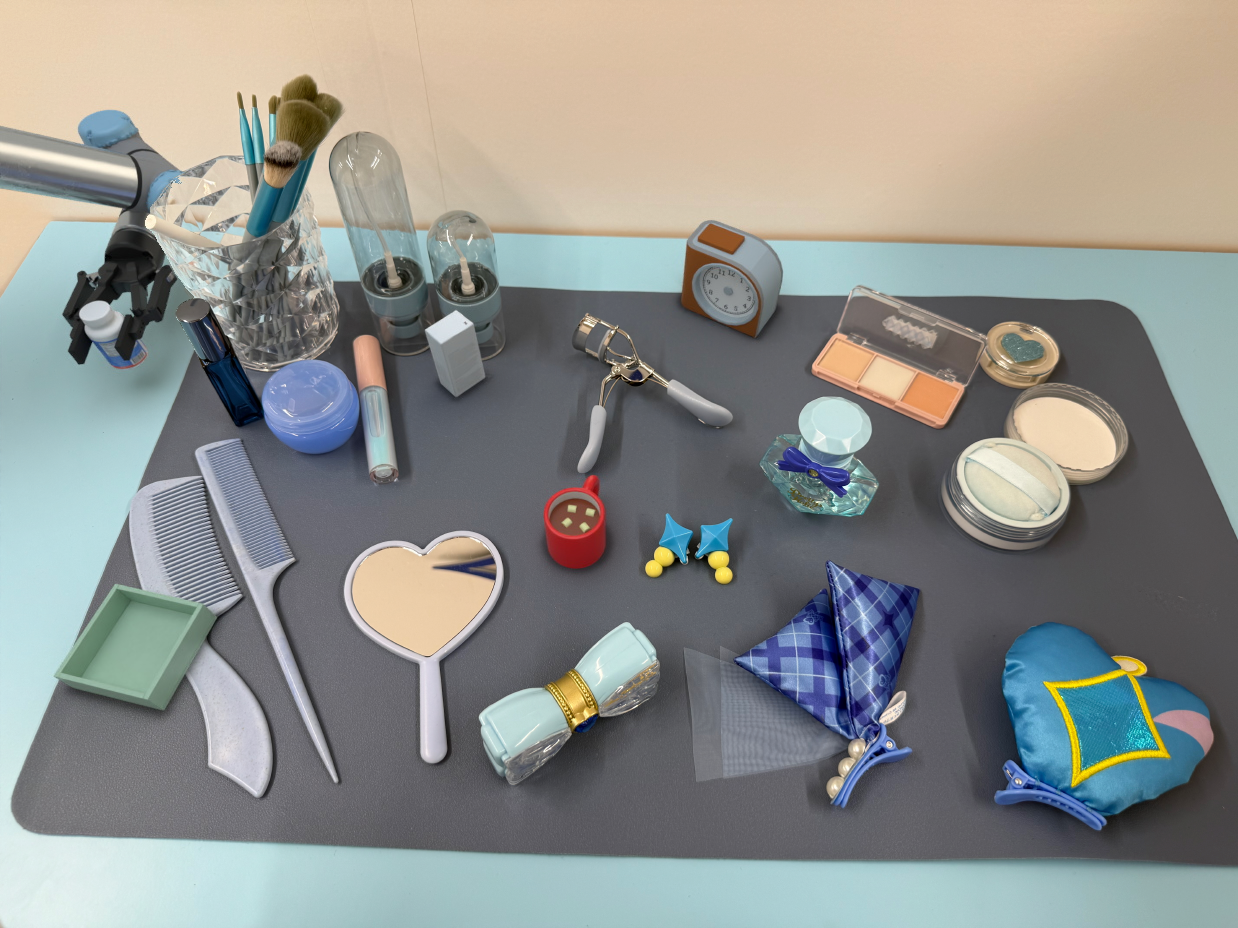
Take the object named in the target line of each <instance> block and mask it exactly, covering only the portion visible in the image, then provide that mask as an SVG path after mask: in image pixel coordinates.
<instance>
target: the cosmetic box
mask: <svg viewBox="0 0 1238 928" xmlns="http://www.w3.org/2000/svg"><path fill="white" fill-rule="evenodd" d="M475 328H476V327H475V324H474V322H472V321H471V320H470V319H468V318H467V317H466V316H465V315H463V314H462V313H461V312H459V311H458V310H457V309H455V310H453V311H452V312H450V313H449V314H448V315H446V316H444V317H443V318H442V319H440V320H438V321H436V322H435V323H433V324H432V325H430V326H428V327H427V328H426V329H424V332H425V333H424V334H425V337H426V340H427V342H428V347H429V350H430V351H431V356H432V359H433V363H434V366H435V369H436V372H437V373H436V374H437V376H438V379H439V382H440V385H442V386H443V387H444V388H445V389H446V390H447V391H448V392H449V393H451V395H453V396H454V397H455V398H458V397H459V396H461V395H462V394H463V393H465V392H467V391H468V390H469V389H471V388H472V387H474V386H475V385H477V384H478V383H480V382H481V381H483V380H484V379H485V378H486V373H485V368H484V364H483V359H482V355H481V350H480V346H479V343H478V338H477V333H476V329H475Z"/></svg>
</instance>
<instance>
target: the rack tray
mask: <svg viewBox="0 0 1238 928" xmlns="http://www.w3.org/2000/svg"><path fill="white" fill-rule="evenodd" d="M217 619H218V616H216V615H215V614H214V613H213V611H212V610H210V609H209V607H208V606H207V605H205V604H204V603H201V602H197V601H193V600H189V599H184V598H180V597H177V596H176V597H175V596H171V595H166V594H162V593H158V592H154V591H151V590H145V589H141V588H138V587H131V586H127V585H123V584H118V583H114V585H113V586H112V588H111V589H110V591H109V592H108V594H107V595H106V597H105V598H104V599H103V601H102V602H101V604H100V605H99V607H98V609H97V610H96V611H95V613H94V615H93V616H92V617H91V619H90V621H89V622H88V623H87V625H86V627H85V628H84V630H83V631H82V632H81V634H80V636H79V637H78V639H77V640H76V641H75V643H74V644H73V646H72V647H71V649H70V650H69V652H68V653H67V655H66V657H65V658H64V659H63V660H62V662H61V664H59V667H58V668H57V670H56V671H55V673H54V674H53V677H54V678H55V679H57V680H59V681H60V682H62V683H64V684H66V685H67V686H69V687H71V688H72V689H75V690H80V691H83V692H88V693H92V694H95V695H100V696H104V697H108V698H112V699H116V700H120V701H124V702H128V703H131V704H134V705H135V704H136V705H140V706H142V707H143V706H144V707H148V708H151V709H155V710H160V711H162V712H163V711H165V710H166V709H167V706H168V704H169V703H170V701H171V700H172V697H173V696H174V694H175V692H176V691H177V689H178V687H179V686H180V684H181V683H182V680H183V678H184V676H185V674H186V673H187V671H188V670H189V668H190V666H191V664H192V662H193V661H194V659H195V657H196V656H197V654H198V652H199V650H200V648H201V646H202V645H203V643H204V642H205V639H206V638H207V636H208V634H209V632H210V631H211V629H212V627H213V626H214V624H215V622H216V620H217Z"/></svg>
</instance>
